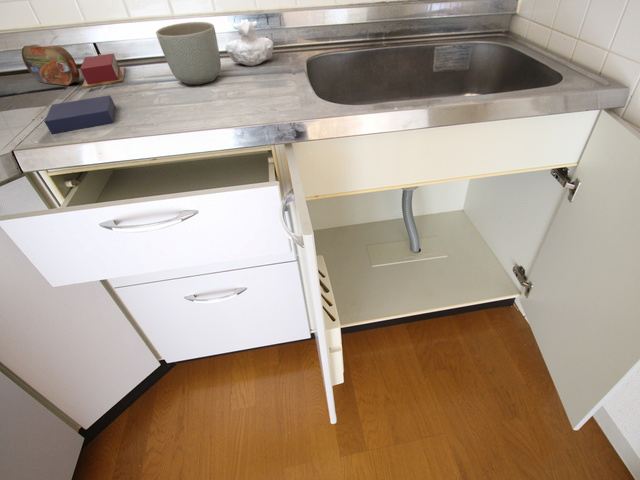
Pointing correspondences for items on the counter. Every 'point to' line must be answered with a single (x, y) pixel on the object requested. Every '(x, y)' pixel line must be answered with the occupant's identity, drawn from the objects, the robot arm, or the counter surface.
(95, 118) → the bottom book
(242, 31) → the bust
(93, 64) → the top book
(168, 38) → the planter
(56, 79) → the tin
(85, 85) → the pad
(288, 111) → the counter surface
